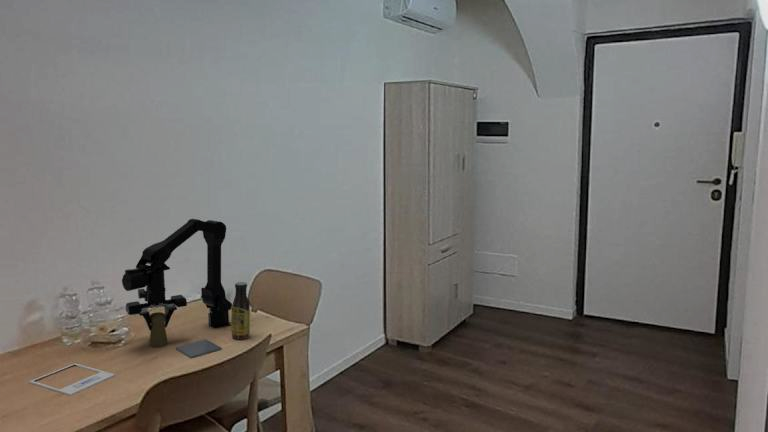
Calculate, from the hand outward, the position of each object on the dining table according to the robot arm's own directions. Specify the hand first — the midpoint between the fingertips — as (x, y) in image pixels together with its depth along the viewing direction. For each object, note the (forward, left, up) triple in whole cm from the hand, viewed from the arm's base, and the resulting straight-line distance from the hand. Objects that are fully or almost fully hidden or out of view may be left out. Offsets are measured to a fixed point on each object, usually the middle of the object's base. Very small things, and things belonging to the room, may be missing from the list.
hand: (157, 328), depth 198 cm
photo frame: (+28, +15, -6) cm, 32 cm away
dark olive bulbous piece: (0, 0, -6) cm, 6 cm away
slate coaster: (-10, +12, -6) cm, 17 cm away
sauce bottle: (-26, +9, -6) cm, 28 cm away
